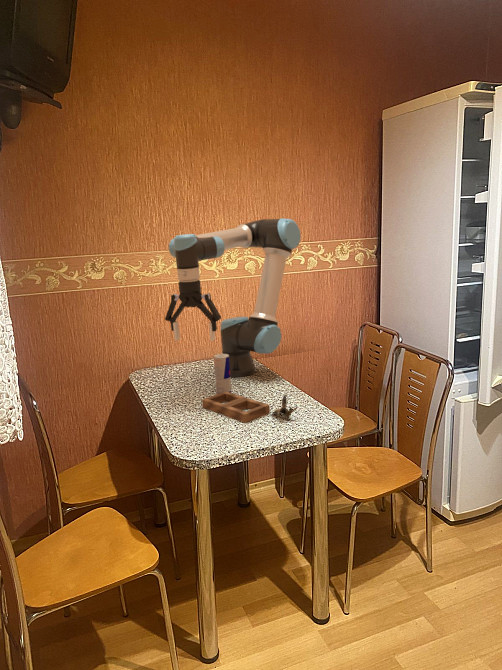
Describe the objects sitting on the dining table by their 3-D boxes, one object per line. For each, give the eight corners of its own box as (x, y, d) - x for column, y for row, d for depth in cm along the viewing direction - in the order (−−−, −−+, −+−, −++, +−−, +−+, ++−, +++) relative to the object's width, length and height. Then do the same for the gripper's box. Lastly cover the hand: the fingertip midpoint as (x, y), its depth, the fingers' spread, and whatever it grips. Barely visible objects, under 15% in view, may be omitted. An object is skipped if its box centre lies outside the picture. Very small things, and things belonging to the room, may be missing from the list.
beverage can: (229, 396, 203) (227, 357, 199) (214, 396, 204) (211, 357, 201) (233, 391, 208) (230, 353, 205) (218, 391, 209) (216, 353, 206)
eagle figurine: (303, 414, 179) (290, 401, 187) (293, 400, 176) (280, 387, 183) (285, 429, 179) (272, 415, 186) (275, 415, 175) (262, 402, 182)
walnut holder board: (202, 407, 193) (202, 399, 193) (226, 399, 201) (226, 391, 200) (245, 423, 177) (245, 414, 177) (269, 413, 185) (269, 404, 184)
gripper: (151, 282, 190) (158, 342, 196) (219, 281, 183) (224, 343, 188) (161, 279, 197) (167, 336, 203) (227, 277, 190) (231, 337, 195)
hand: (195, 340), depth 195 cm, fingers open, 13 cm apart
